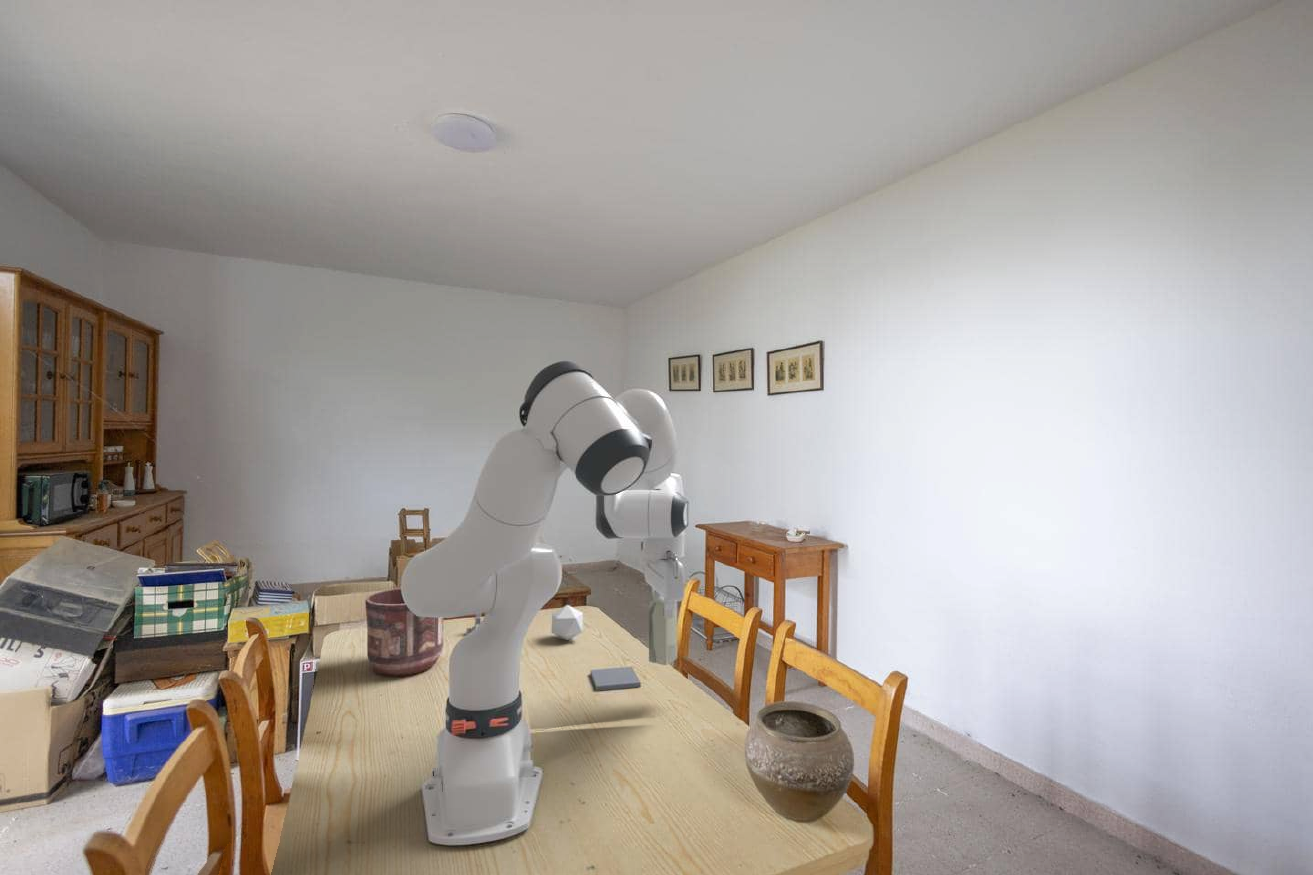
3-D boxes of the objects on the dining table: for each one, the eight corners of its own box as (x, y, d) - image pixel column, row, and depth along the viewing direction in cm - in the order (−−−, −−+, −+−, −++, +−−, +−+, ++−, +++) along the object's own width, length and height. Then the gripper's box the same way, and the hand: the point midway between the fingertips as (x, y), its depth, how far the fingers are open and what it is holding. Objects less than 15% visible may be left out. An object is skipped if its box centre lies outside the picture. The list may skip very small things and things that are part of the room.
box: (660, 655, 132) (660, 596, 133) (678, 659, 130) (678, 598, 131) (647, 662, 128) (647, 600, 128) (665, 666, 126) (665, 603, 126)
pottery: (420, 686, 136) (420, 606, 137) (348, 681, 139) (350, 602, 139) (457, 659, 154) (458, 587, 154) (394, 654, 157) (394, 584, 157)
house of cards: (451, 635, 173) (452, 609, 173) (483, 632, 177) (483, 606, 177) (454, 645, 165) (454, 617, 165) (487, 642, 168) (487, 614, 168)
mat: (640, 686, 137) (640, 682, 137) (596, 690, 135) (596, 686, 135) (631, 670, 147) (631, 666, 147) (590, 674, 144) (590, 669, 144)
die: (571, 633, 175) (572, 599, 175) (588, 641, 168) (589, 605, 168) (545, 639, 170) (545, 603, 170) (562, 648, 163) (562, 610, 163)
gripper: (692, 555, 120) (692, 625, 120) (665, 540, 140) (665, 600, 140) (661, 556, 119) (661, 627, 118) (638, 541, 139) (638, 601, 138)
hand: (663, 612), depth 129 cm, fingers closed on box, 6 cm apart
